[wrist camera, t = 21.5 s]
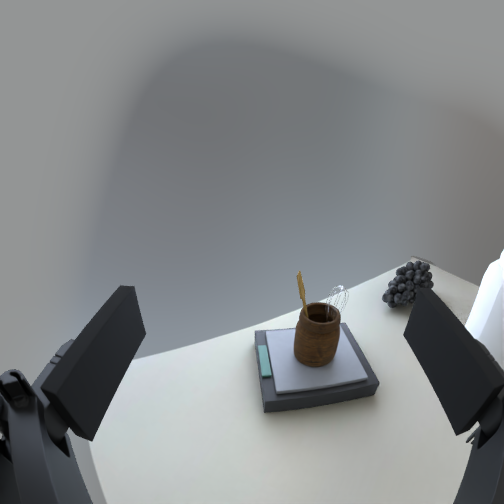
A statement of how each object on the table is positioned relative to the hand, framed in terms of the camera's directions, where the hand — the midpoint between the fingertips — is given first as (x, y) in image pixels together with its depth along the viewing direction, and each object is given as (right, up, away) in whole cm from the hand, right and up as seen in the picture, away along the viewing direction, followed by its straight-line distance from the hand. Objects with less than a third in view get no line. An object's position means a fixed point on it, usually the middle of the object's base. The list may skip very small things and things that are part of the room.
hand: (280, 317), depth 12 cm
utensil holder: (+7, -11, +24) cm, 27 cm away
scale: (+7, -14, +25) cm, 29 cm away
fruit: (+31, -8, +40) cm, 51 cm away
